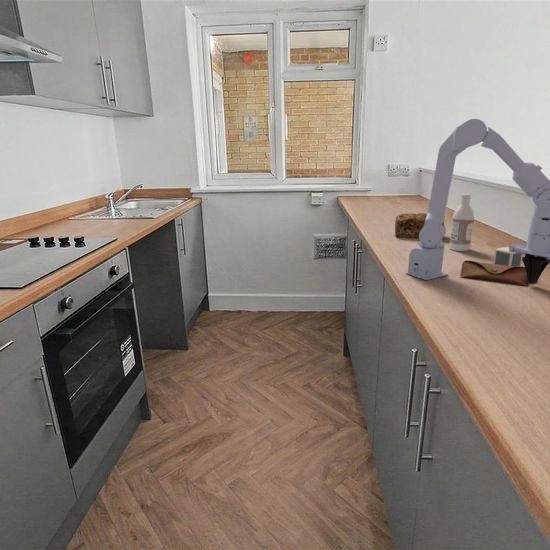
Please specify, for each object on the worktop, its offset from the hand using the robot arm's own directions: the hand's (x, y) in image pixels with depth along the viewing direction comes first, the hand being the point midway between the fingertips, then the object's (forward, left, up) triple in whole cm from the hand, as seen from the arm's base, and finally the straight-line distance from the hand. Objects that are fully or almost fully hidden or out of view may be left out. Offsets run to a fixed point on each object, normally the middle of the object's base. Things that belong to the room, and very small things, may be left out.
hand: (532, 282), depth 110 cm
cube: (+12, +15, -1) cm, 19 cm away
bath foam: (+18, +37, -1) cm, 41 cm away
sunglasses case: (-2, +10, -2) cm, 10 cm away
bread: (+22, +60, -1) cm, 64 cm away
